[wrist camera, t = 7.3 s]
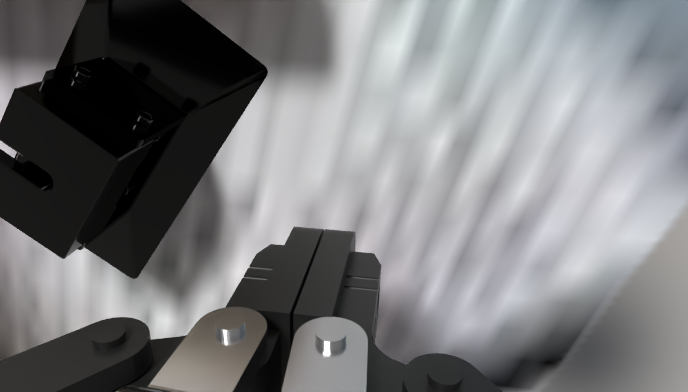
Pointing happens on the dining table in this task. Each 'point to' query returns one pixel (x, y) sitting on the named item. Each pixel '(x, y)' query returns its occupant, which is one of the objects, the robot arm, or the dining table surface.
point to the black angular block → (122, 129)
